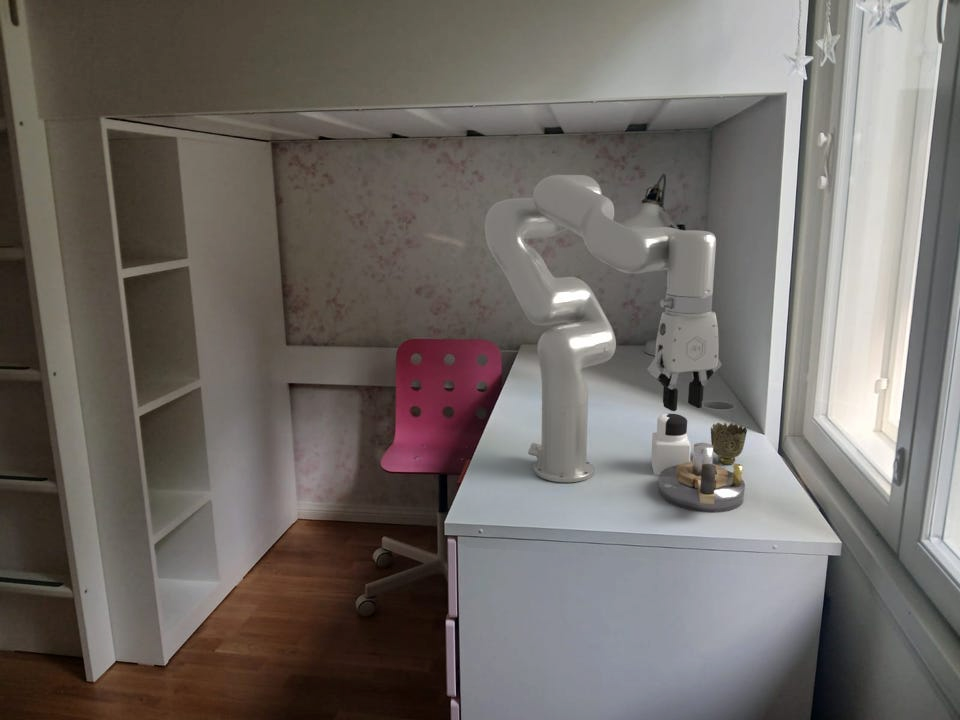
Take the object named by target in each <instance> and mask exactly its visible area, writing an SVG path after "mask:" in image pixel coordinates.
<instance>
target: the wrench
mask: <svg viewBox="0 0 960 720" xmlns="http://www.w3.org/2000/svg"><path fill="white" fill-rule="evenodd" d="M692 469H693V460H692V461H690V462H689V461H688V462H685V463H682V464H679V465H678V466H676V478H677V480H678V481H679V482H681V483H683V484H686V485H688V486H690V487H693V486H695V488H697V489H698V494H699V499H700V503H705V504H714V500H715V495H714V488H715V489H717V488H719V487H722V486H725V485H727V484H728V478H729V475H728V472H727V471H728V470H727V469H726V468H725V467H723V466H721V465H718V464H715V463H713V462H712V464H703V465H702V472H701V476H696V475H694V474H692Z"/></svg>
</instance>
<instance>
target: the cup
mask: <svg viewBox="0 0 960 720" xmlns="http://www.w3.org/2000/svg"><path fill="white" fill-rule="evenodd" d="M747 433H748V430H747V427H743V425H738V424H736V423H735V424H733V423H732V422H731V423H730V424H729V425H728V424H727V423H726V422H724V423H723V424H722V423H720V422H717V423H716V424H715V423H713V424H712V427H710V441H711V445H712V446H713V447H714V448H713V453H715V455H716V456H717V462H718V463H720V464H723V465H726V466H727V465H734V464H735V462H736V458H738V457H739V456H740V455H741V454H742V452H743V450H744V446H745V440H746V437H747Z"/></svg>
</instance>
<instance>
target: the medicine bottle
mask: <svg viewBox="0 0 960 720" xmlns="http://www.w3.org/2000/svg"><path fill="white" fill-rule="evenodd" d="M656 421H657V422H656V432H652V438H651V439H652V440H651V459H650V463H651V467H652V471H653V475H654V476H659V475H660V473H661V472H662V471H663V470H664V469H666V468H669V467H672V466H676V465H679V464H682V463H685V462H688V461H689V462H691V447H692V446H691V442H690V440H689V437H688V435H687V429H688V420H687V418H686V417H685V416H683V415H681V414H677V413H663V414H660V415H659V416H658V417H657V420H656Z"/></svg>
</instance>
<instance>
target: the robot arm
mask: <svg viewBox="0 0 960 720" xmlns="http://www.w3.org/2000/svg"><path fill="white" fill-rule="evenodd" d="M532 196H533V197H518V198H508V199H504V200H501V201H498V202H496V203H494V204H493V205H492V206H491V207H490V209H488V211H487V214H486V215H485V216H486V217H485V222H484V233H485V234H484V235H485V239H486V244H487V246H488V250H489V251H490V253H491V255H492V257H493V258H494V260H495V261H496V263H497V264H498V265H499V267H500V268H501V270H502V271H503V273H504V275H505V277H506V278H507V281H508V282H509V285H510V287H511V289H512V291H513V292H514V293H513V294H514V295H515V297H516V298H517V301H518V303H519V304H520V306H521V309H522V310H523V313H524V314H525V316H526V318H527V319H528V320H529V322H530V323H532V325H535V326H540V327H541V326H552V325H556V326H552V327H550V328H549V329H547V330H546V331H545V332H543V333H542V334H541V336H540V337H539V339H538V341H537V349H536V351H537V357H538V362H539V367H540V368H539V369H540V375H541V377H540V378H541V443H540V444H539V443H536V442H532V443H531V444H530V446H529V448H528V451H527V452H528V455H529V456H533V457H534V456H535V457H536V458H537V460H536V461H535V462H534V464H533V472H534V473H535V475H536V476H538V477H539V478H542V479H544V480H545V481H546V480H547V481H550V482H554V483H555V482H556V483H576V482H582V481H585V480H588V479H589V478H590V477H592V476H593V475H594V465H593V463H591V462H590V461H588V459H587V455H588V454H587V453H588V452H587V450H588V419H589V416H588V415H589V414H588V413H589V412H588V411H589V389H588V385H587V382H586V380H585V378H584V376H583V374H582V369H585V368H588V367H593V366H595V365H600V364H603V363H606V362H608V361H609V360H610V359H612V357H613V356H614V354H615V352H616V348H617V347H616V346H617V341H616V336H615V332H614V330H613V328H612V325H611V324H610V322H609V320H608V319H609V318H607V316H606V314H605V313H604V310H603V308H602V307H601V305H600V303H599V300H598V299H597V297H596V296H595V293H594V292H593V290H592V288H591V287H590V286H589V284H587V283H586V282H585V281H583V279H580V278H578V277H575V276H564V277H563V276H562V277H555V276H554V275H553V274H552V273H551V271H550V270H549V268H548V266H547V265H546V262H545V261H544V259H543V257H542V256H541V255H540V253H539V252H537V250H535V249H534V248H533V247H532V246H531V245H529V244H528V243H527V242H526V241H525V240H529V239H542V238H550V237H551V238H552V237H553V236H557V235H559V234H561V233H563V232H565V231H567V230H569V231H571V232H573V233H575V234H576V235H578V236H579V237H581V238H582V239H583V243H584V244H585V246H586V248H587V250H588V252H589V253H590V254H591V255H592V256H593V257H594V258H595V259H597V260H599V261H600V262H602V263H604V264H606V265H607V266H609V267H611V268H612V269H616V270H617V271H620V272H622V273H625V274H631V275H634V274H642V273H648V272H649V273H650V272H657V271H658V272H659V271H666V270H667V274H666V275H667V277H666V279H667V281H666V294H665V299H664V298H663V299H661V300H660V302H659V305H660V307H661V308H664V310H665V311H664V312H661V313H662V314H661V317H660V320H659V325H658V329H657V336H656V342H655V353H654V358H653V359H652V361H651V363H650V364H649V366H648V367H647V369H646V371H647V373H648V374H650V375H651V376H653V377H654V378H655V379H656V381H657V380H658V382H659V383H660V385H661V386H662V387H663V391H662V403H663V407H664V408H665V409H668V410H669V411H671V412H676V411H677V409H678V397H679V396H678V395H679V390H678V388H676V385H677V381H678V378H679V374H687V373H691V380H692V381H689V384H688V395H687V396H688V397H687V403H688V405H690V406H693V407H695V408H697V409H701V408H702V405H703V399H704V386H706V385H707V384H708V380H709V379H710V378H711V377H712V376H713V374H714V373H715V372H717V370H718V369H720V368H721V367H722V362H721V360H720V358H719V348H720V347H719V345H720V344H719V327H718V320H717V319H718V318H717V315H716V312H714V311H712V308H713V293H714V278H715V265H716V264H715V262H716V249H717V248H716V247H717V239H716V236H715V234H714V233H713V232H710V231H707V230H694V229H693V230H692V229H691V230H690V229H688V230H687V229H686V230H685V229H684V230H683V229H678V228H673V227H669V226H658V227H643V228H639V227H638V228H629V227H627V226H625V225H623V224H621V223H619V222H617V221H615V220H614V218H615V206H614V204H613V201H612V200H611V199H610V198H609V197H607V196H605V195H603V193H602V190H601V187H600V184H599V183H598V182H597V181H596V180H595V179H594V178H593V177H591V176H588V175H584V174H553V175H549V176H547V177H545V178H543V179H542V180H540V181H539V182H538V183H537V185H536V186H535V188H534V189H533V194H532ZM562 323H565V324H562ZM557 324H559V325H557ZM661 369H663V371H661Z"/></svg>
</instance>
